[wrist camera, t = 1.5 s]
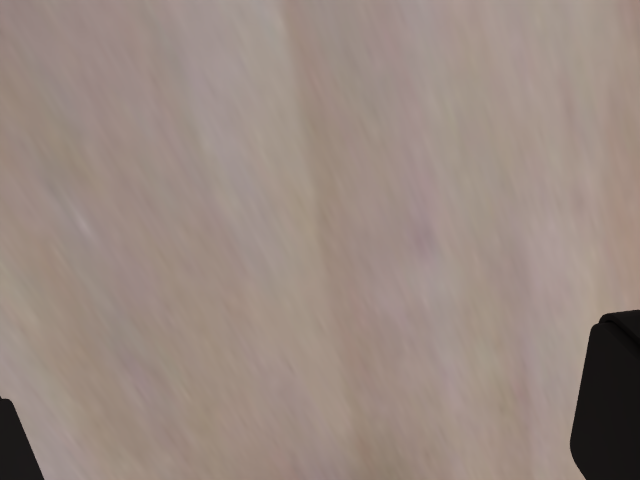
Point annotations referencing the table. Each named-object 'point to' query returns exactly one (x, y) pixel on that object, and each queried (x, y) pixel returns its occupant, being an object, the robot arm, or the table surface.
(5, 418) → the robot arm
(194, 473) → the table surface
